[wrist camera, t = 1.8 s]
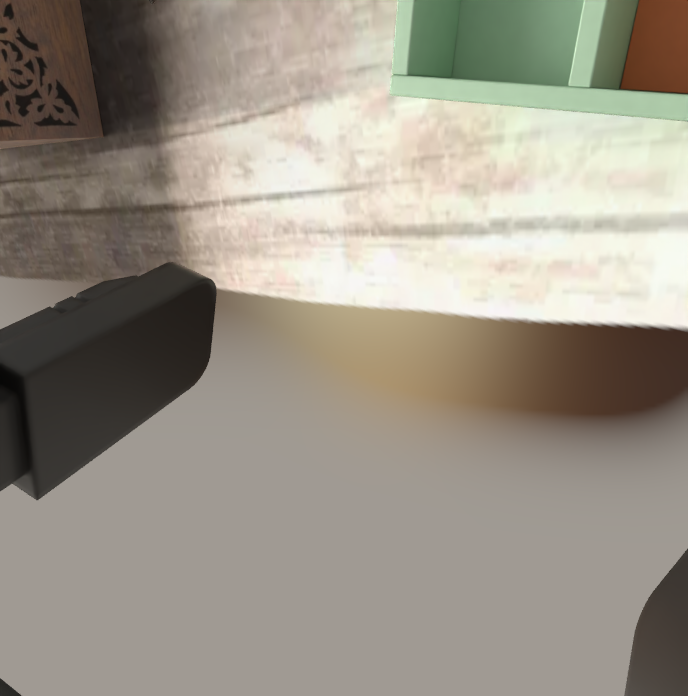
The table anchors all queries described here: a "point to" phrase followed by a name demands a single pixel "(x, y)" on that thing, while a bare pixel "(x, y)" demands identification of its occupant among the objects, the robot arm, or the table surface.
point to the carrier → (546, 54)
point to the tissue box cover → (45, 74)
